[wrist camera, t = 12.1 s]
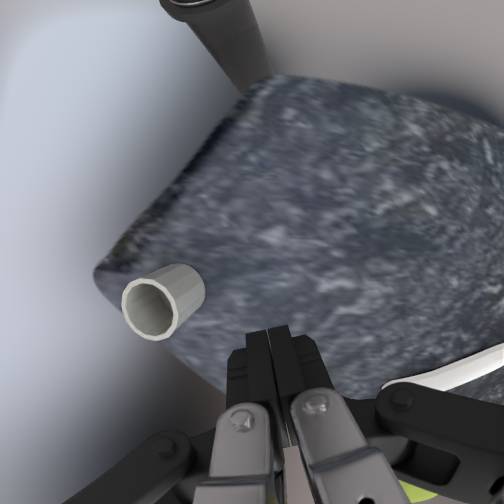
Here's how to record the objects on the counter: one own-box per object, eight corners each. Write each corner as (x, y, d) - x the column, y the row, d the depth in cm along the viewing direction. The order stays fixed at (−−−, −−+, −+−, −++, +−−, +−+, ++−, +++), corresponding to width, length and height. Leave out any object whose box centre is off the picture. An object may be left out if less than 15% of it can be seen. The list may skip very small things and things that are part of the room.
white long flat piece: (555, 310, 25) (564, 318, 22) (550, 335, 26) (558, 343, 23) (380, 380, 32) (383, 393, 29) (382, 403, 33) (385, 416, 30)
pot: (148, 274, 34) (111, 290, 27) (192, 254, 33) (160, 268, 26) (170, 320, 35) (138, 346, 28) (214, 304, 33) (189, 330, 26)
